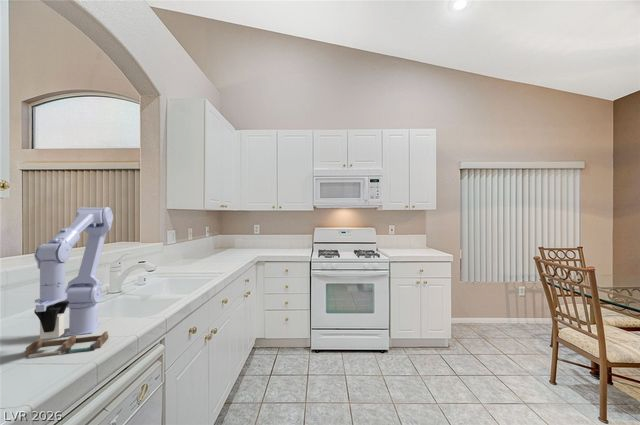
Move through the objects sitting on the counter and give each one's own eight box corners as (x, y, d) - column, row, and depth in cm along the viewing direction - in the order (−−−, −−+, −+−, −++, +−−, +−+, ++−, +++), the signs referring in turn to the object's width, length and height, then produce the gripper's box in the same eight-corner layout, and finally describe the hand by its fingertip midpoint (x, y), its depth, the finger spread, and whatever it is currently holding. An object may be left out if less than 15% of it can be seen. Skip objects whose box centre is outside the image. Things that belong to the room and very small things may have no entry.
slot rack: (40, 345, 95) (40, 337, 95) (108, 338, 101) (108, 330, 101) (23, 358, 86) (23, 349, 86) (98, 349, 92) (98, 341, 92)
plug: (45, 334, 93) (46, 311, 93) (64, 332, 95) (64, 309, 95) (39, 339, 90) (40, 314, 90) (58, 337, 92) (59, 313, 92)
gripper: (48, 279, 98) (47, 322, 98) (21, 290, 85) (21, 340, 84) (75, 278, 101) (74, 320, 100) (53, 288, 87) (53, 336, 87)
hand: (52, 329), depth 93 cm, fingers closed on plug, 3 cm apart
